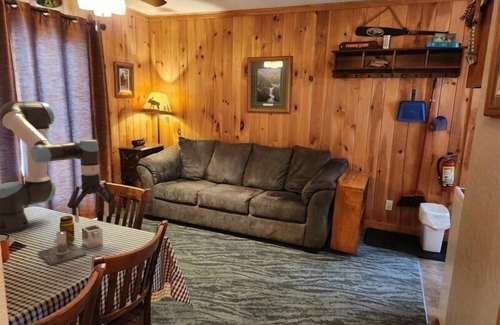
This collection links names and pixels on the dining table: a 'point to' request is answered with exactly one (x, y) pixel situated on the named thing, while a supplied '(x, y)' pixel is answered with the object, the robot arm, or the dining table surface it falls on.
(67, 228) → the condiment
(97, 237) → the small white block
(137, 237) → the dining table surface
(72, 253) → the plate
